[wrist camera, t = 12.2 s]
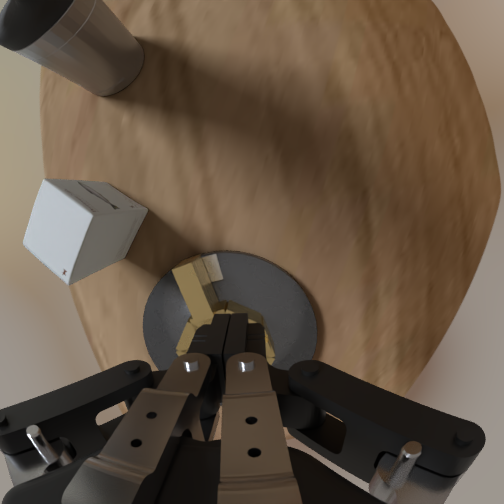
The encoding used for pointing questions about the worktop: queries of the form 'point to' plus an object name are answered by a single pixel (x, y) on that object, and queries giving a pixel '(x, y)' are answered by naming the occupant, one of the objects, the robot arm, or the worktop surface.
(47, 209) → the supplement box
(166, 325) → the flange
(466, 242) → the worktop surface
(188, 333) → the tan curved piece
